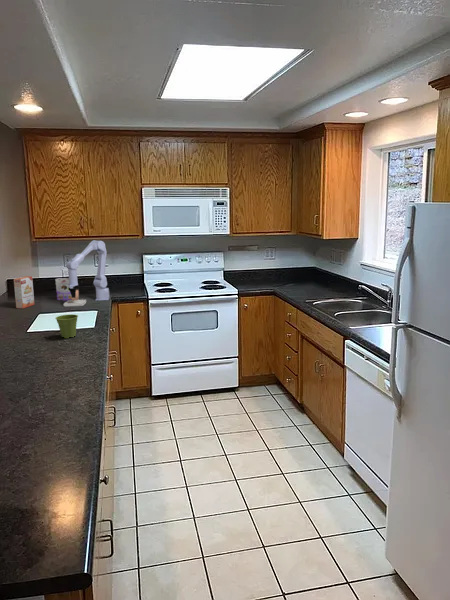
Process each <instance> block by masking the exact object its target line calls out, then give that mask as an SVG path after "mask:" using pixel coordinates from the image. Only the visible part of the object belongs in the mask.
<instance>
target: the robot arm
mask: <svg viewBox="0 0 450 600" xmlns="http://www.w3.org/2000/svg"><path fill="white" fill-rule="evenodd" d="M92 251H96V252H97V253H98V258H97V259H98V260H97V273H96V275H95V276H94V279H93V284H92V285H94V287H95V295H96V296H95V297H96V298H95V300H94V301H109V300H110V289H109V287H107V286H108V281H107V277H106V264H107V256H108V255H107V254H108V253H107V249H106V243H105V242H104V241H102V240H95V239H94V240H92V241H91V242H89V243H88V245H87V246H86V247H85V248H84V249H83V250H82V252H81V253H76V254H75V256H74V257H73V258H71V259H70V260H69V261H68V262H66V265H65V266H66V269H67V271H68V278H69V284H68V285H69V286H70V288H68V289H69V291H70V293H71V296H72V298H75V296H76V290H78V291H79V288H80V285H79V283H78V281H79V280H78V272H77V271H78V267H79V265H80V264H81V263H82V262H83V261H84V260H85V257H86V256H87V255H89V253H91V252H92Z"/></svg>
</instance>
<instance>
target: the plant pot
mask: <svg viewBox="0 0 450 600" xmlns="http://www.w3.org/2000/svg"><path fill="white" fill-rule="evenodd" d="M78 317H79V315H78V314H63V315H58V316H55V318H54V319H55V320H56V322H57V324H58V328H59V332H60V335H61V338H62V337H64V338H63V339H70V338H69V337H73V338H74V336H75V337H76V336H77V335H76V334H77V325H78V324H77V323H78Z"/></svg>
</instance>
